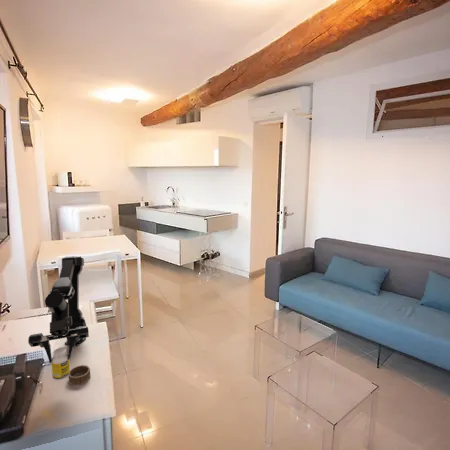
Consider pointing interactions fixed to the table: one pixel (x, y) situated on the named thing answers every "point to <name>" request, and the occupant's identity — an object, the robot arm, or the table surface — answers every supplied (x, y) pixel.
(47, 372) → the table surface
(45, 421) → the table surface
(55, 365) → the supplement bottle
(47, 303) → the robot arm
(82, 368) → the holder
